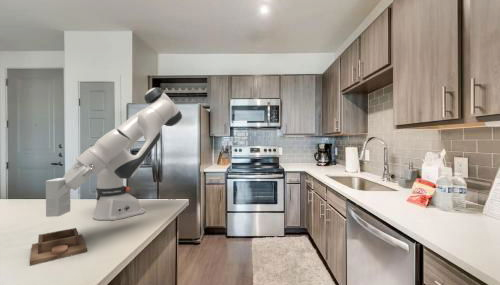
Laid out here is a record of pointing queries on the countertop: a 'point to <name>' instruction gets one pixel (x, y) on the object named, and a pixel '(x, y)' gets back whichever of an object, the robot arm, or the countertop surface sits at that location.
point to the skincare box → (56, 198)
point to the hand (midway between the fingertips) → (56, 194)
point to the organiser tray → (57, 246)
